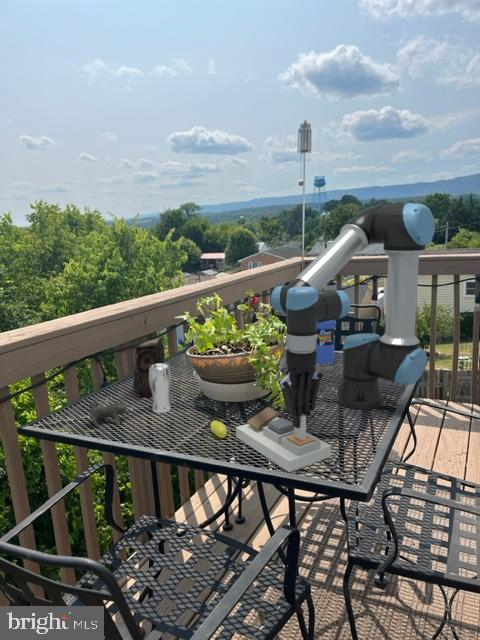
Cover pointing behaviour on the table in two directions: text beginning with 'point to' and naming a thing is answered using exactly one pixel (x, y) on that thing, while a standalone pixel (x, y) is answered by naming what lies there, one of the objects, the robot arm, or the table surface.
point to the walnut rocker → (263, 418)
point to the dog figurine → (107, 412)
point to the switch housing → (283, 447)
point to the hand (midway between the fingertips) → (300, 438)
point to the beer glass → (160, 387)
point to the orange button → (299, 442)
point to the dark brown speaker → (146, 365)
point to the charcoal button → (280, 426)
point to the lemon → (218, 429)
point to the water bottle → (325, 342)
